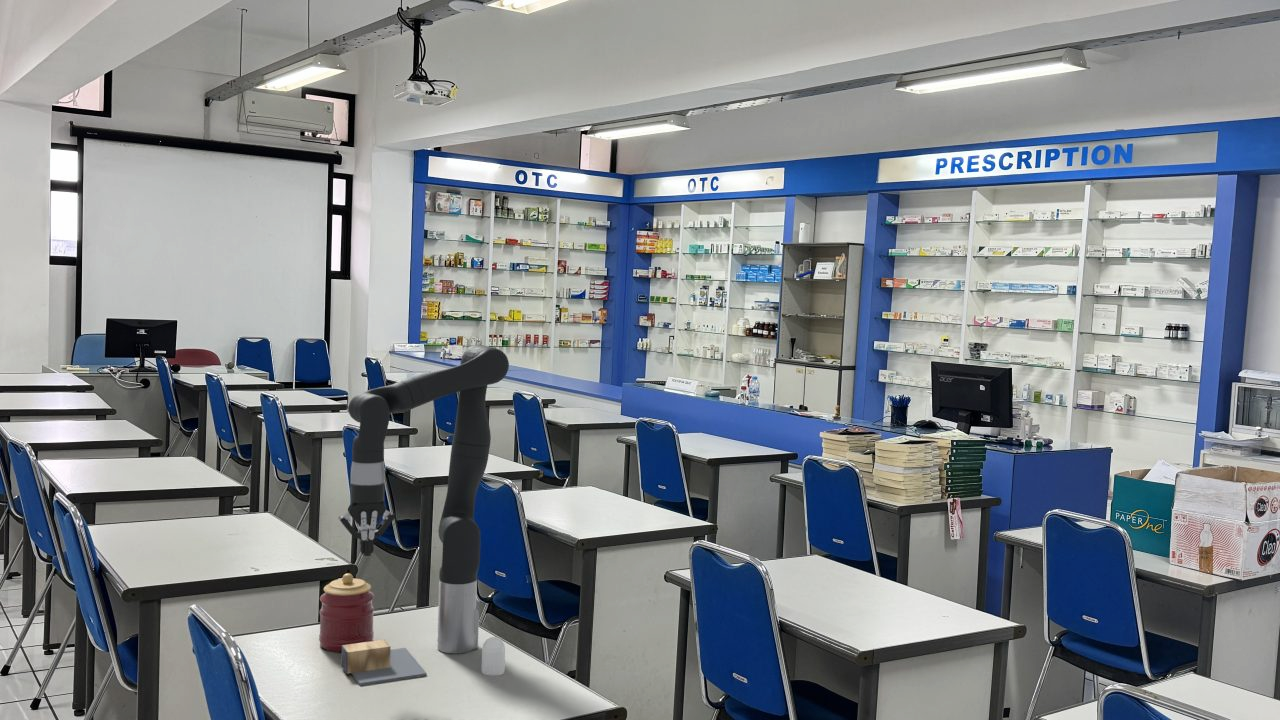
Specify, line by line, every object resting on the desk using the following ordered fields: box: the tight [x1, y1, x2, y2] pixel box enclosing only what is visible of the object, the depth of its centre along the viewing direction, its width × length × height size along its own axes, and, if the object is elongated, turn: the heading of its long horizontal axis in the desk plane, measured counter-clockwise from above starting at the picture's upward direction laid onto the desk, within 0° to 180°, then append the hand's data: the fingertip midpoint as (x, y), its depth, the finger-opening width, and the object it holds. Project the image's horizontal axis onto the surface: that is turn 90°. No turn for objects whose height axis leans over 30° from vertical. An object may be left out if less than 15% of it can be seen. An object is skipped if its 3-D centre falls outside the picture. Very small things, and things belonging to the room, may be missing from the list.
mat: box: [351, 647, 427, 687], centre depth 237 cm, size 15×18×1 cm
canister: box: [318, 573, 375, 653], centre depth 251 cm, size 13×13×18 cm
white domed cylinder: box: [481, 636, 506, 676], centre depth 237 cm, size 5×5×8 cm
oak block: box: [340, 639, 392, 675], centre depth 235 cm, size 5×5×10 cm
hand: (366, 555), depth 233 cm, fingers closed
